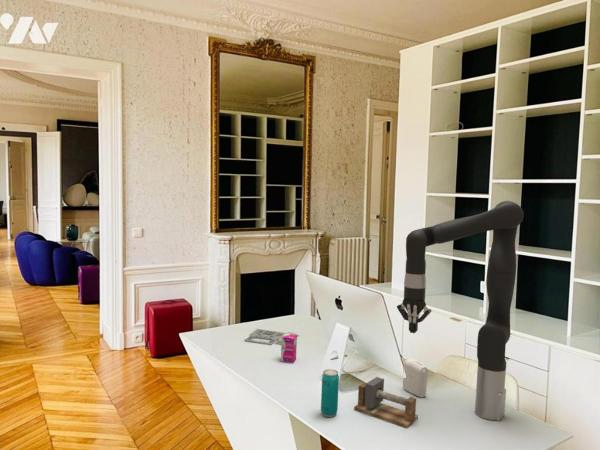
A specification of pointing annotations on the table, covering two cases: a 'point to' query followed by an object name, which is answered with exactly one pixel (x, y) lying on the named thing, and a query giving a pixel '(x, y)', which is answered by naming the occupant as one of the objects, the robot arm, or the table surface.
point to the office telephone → (267, 336)
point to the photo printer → (415, 378)
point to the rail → (389, 408)
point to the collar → (373, 392)
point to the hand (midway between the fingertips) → (412, 332)
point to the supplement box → (288, 348)
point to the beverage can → (329, 393)
